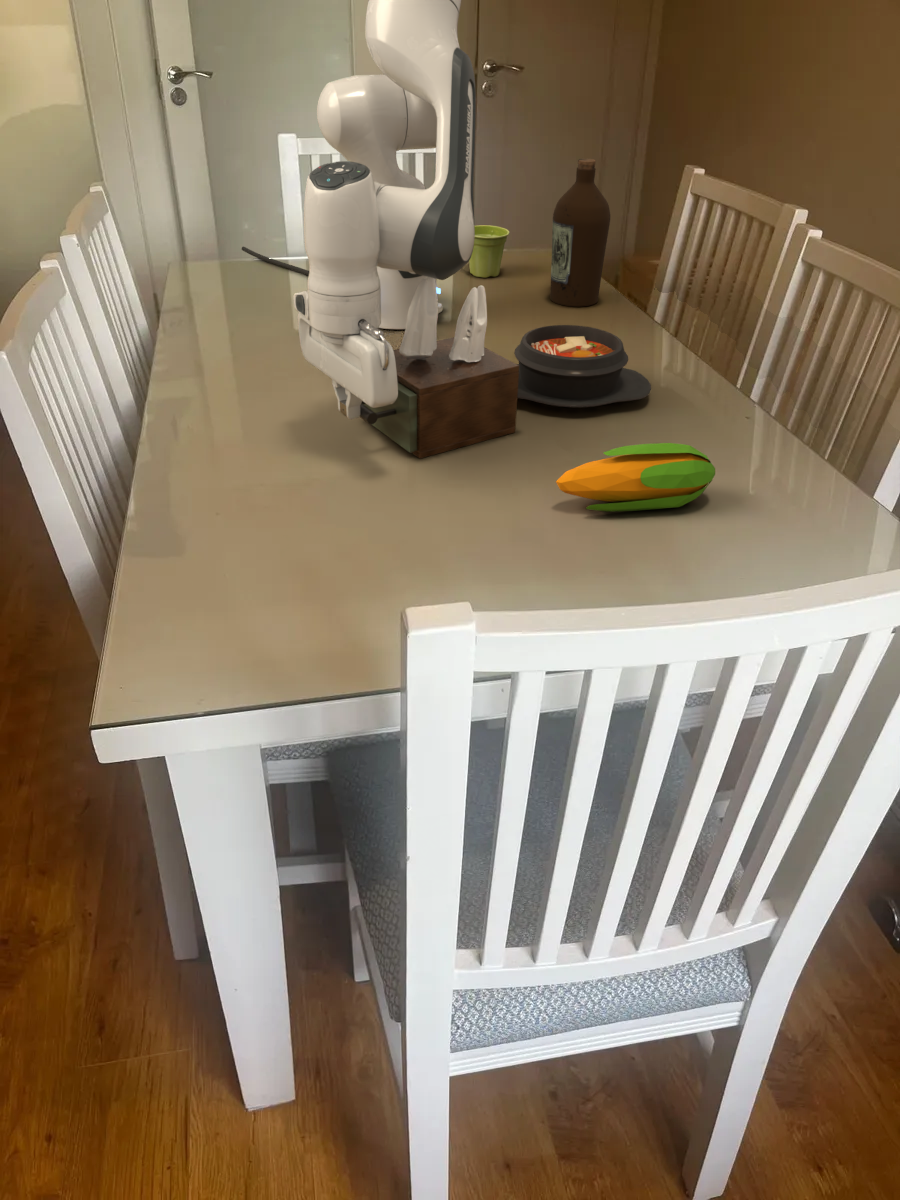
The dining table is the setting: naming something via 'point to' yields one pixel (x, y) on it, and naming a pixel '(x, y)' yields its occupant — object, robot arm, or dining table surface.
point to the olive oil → (579, 240)
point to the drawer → (396, 418)
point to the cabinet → (459, 398)
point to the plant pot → (487, 250)
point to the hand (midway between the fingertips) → (349, 414)
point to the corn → (641, 477)
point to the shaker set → (424, 325)
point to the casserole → (576, 368)
